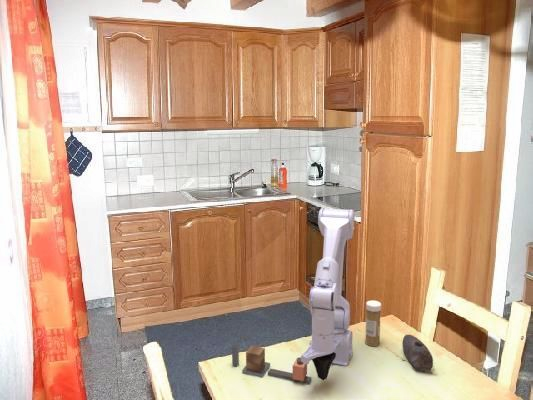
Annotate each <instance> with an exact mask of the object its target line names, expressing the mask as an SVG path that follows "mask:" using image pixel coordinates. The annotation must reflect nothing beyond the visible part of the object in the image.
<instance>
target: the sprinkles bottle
mask: <svg viewBox="0 0 533 400" xmlns="http://www.w3.org/2000/svg"><path fill="white" fill-rule="evenodd" d="M365 309H366V310H365V311H366V313H365V314H366V316H365V340H364V342H365V344H366V345H367V346H370V347H377V346H379V345H380V343H381V340H380V337H381V336H380V335H381V312H382V303H381V302H380V301H377V300H368V301H367V302H366V303H365Z"/></svg>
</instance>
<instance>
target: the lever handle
mask: <svg viewBox="0 0 533 400" xmlns="http://www.w3.org/2000/svg"><path fill="white" fill-rule="evenodd" d="M292 373H293V379H295V380H300V381H304V379H305V377H306V376H308V364H307V365H306V364H304V363H303V362H301V356H300V357H296V359H295V361H294V362H293V363H292Z"/></svg>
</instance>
